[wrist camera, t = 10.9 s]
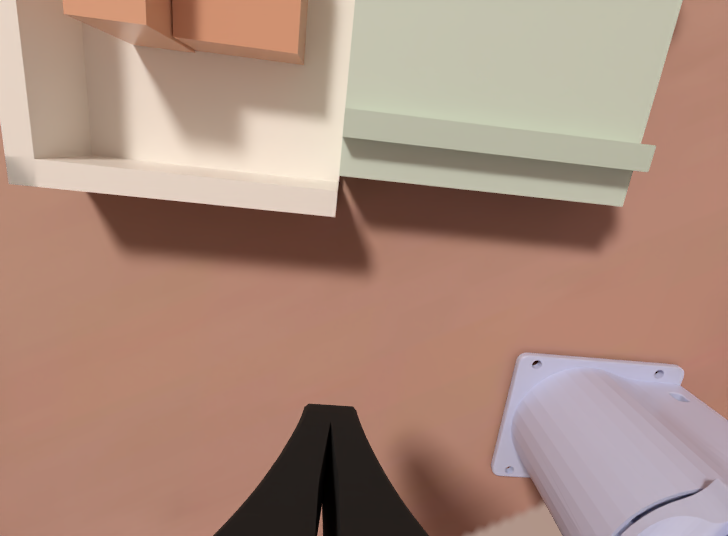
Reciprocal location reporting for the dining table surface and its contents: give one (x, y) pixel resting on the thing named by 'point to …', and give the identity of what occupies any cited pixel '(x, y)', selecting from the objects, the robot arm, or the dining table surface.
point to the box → (173, 113)
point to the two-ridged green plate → (505, 94)
